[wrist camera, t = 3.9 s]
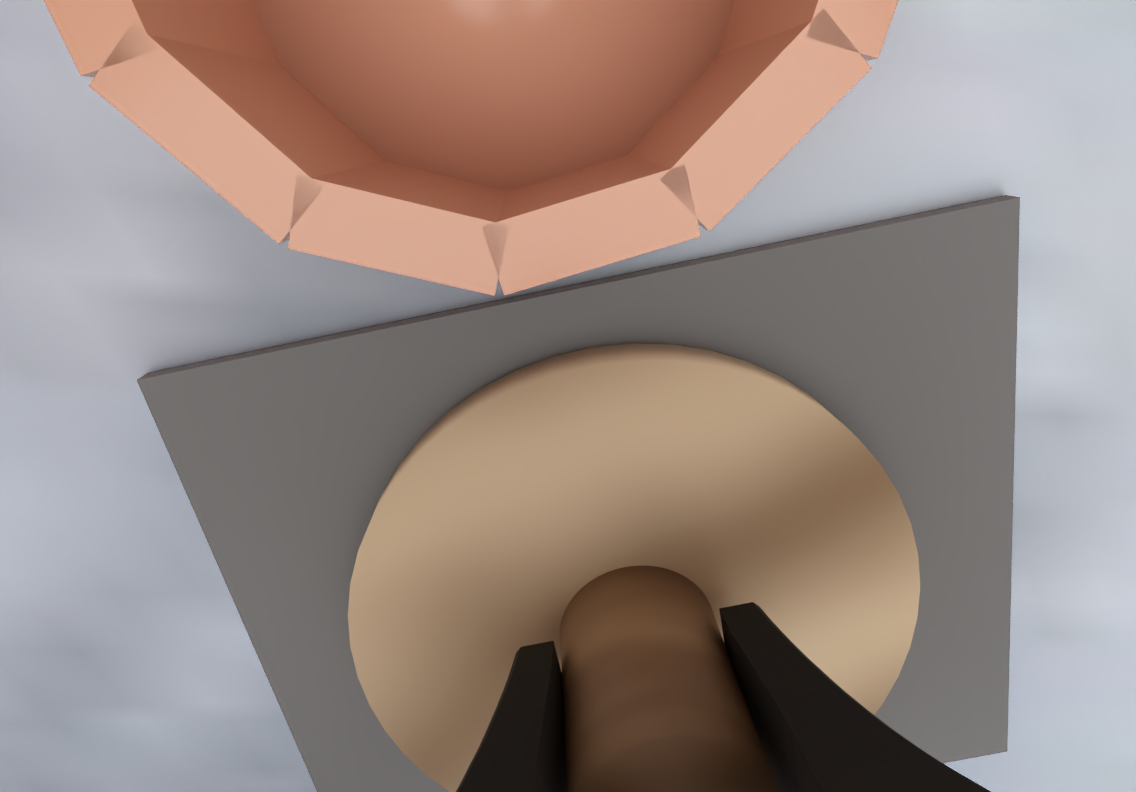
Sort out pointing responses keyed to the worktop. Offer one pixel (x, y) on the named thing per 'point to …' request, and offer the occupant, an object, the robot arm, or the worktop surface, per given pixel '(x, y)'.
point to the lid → (627, 564)
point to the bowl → (476, 117)
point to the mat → (613, 317)
